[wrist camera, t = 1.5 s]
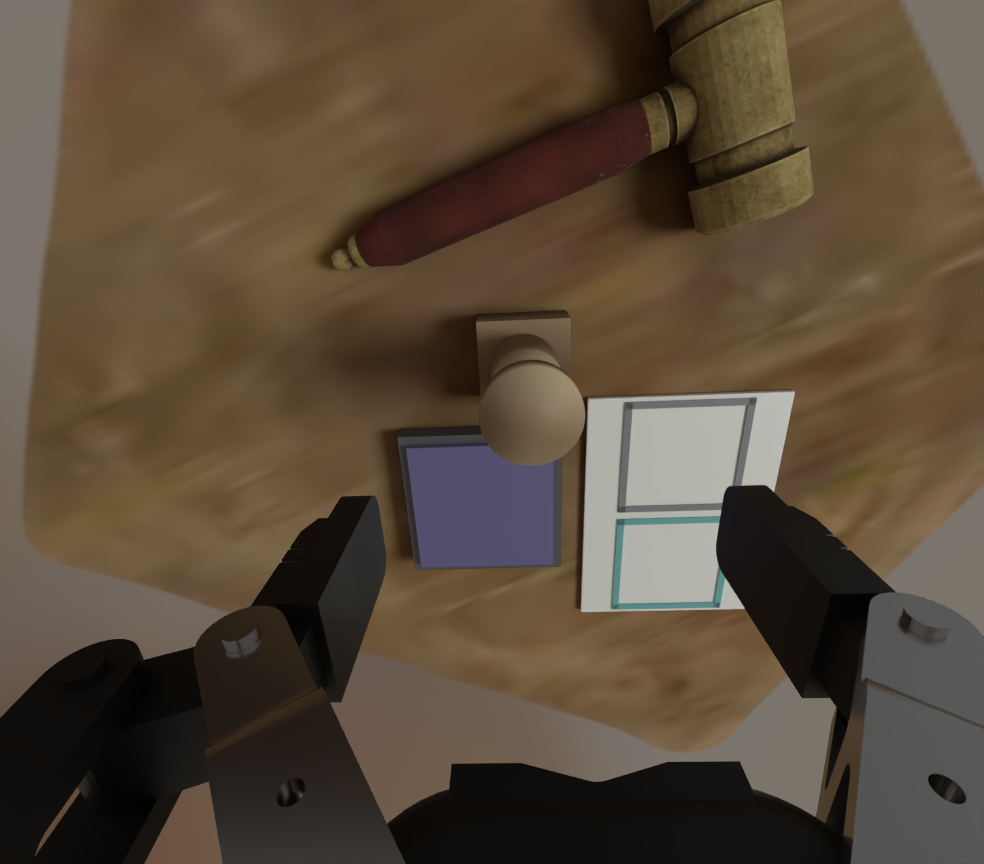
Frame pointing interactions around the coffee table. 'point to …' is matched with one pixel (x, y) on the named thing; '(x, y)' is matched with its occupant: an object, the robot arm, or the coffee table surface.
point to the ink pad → (477, 503)
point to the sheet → (670, 493)
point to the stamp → (528, 386)
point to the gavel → (637, 142)
